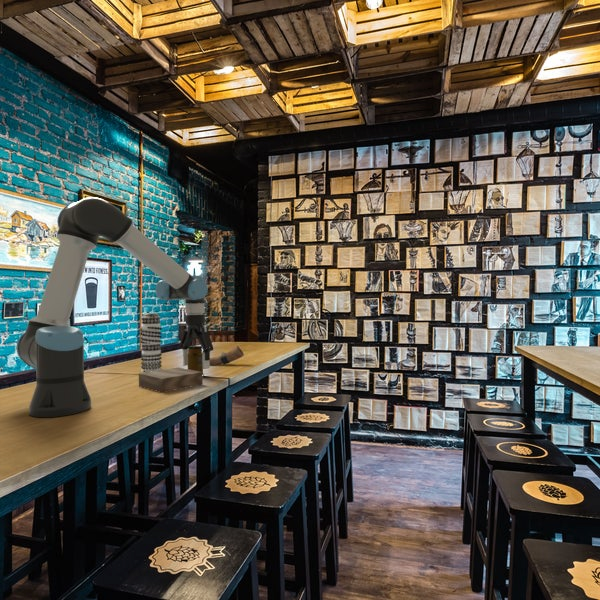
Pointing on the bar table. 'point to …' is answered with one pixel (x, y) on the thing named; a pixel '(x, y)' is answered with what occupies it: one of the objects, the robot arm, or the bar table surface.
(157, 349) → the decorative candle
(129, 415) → the bar table surface
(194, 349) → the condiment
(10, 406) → the bar table surface
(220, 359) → the drinking horn
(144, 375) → the block
